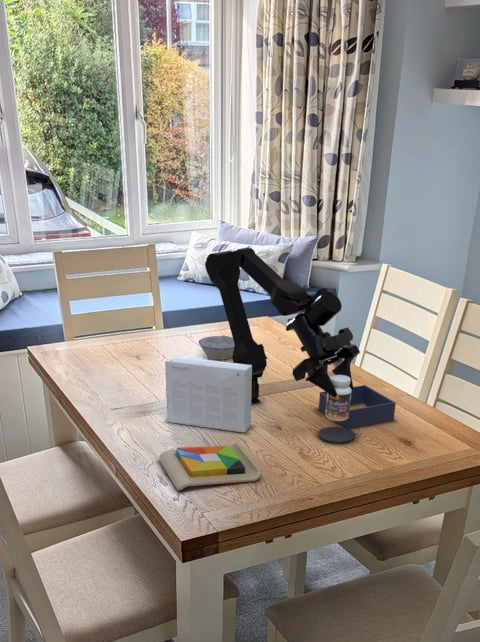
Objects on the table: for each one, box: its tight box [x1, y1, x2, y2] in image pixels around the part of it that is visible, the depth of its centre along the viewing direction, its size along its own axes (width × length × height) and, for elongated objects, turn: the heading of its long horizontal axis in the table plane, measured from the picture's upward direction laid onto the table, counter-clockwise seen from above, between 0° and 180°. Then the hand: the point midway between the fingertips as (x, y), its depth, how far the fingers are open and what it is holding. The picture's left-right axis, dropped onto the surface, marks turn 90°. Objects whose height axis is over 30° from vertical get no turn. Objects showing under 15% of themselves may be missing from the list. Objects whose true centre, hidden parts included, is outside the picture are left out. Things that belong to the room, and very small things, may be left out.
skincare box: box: [164, 355, 252, 433], centre depth 185 cm, size 21×6×16 cm, turn 71°
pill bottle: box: [324, 374, 352, 422], centre depth 178 cm, size 6×6×10 cm
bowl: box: [198, 335, 235, 361], centre depth 235 cm, size 13×13×5 cm
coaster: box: [317, 426, 356, 445], centre depth 182 cm, size 9×9×1 cm
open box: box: [318, 384, 397, 430], centre depth 193 cm, size 14×14×5 cm
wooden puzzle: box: [158, 442, 262, 491], centre depth 165 cm, size 18×19×4 cm
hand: (343, 393), depth 176 cm, fingers closed on pill bottle, 5 cm apart
